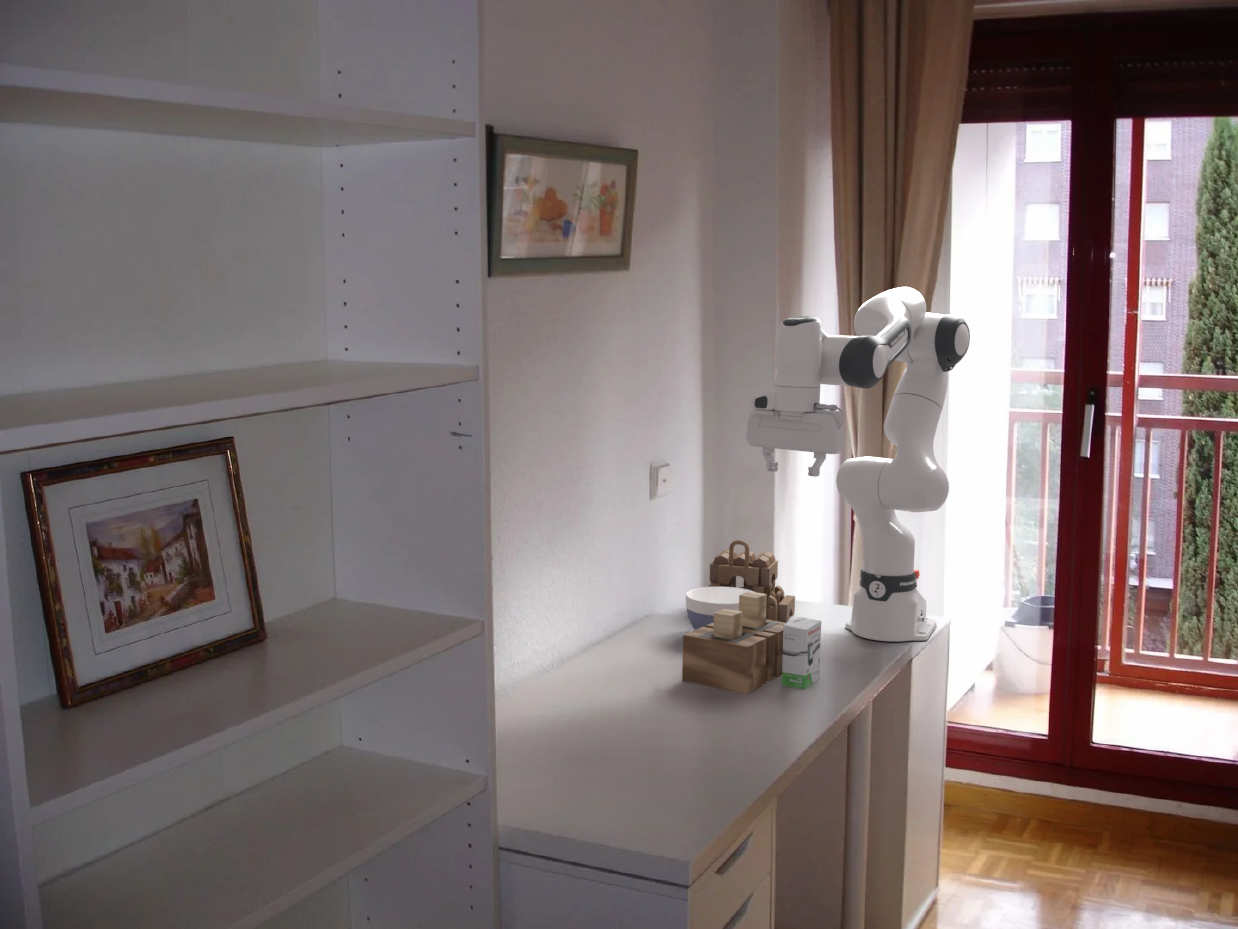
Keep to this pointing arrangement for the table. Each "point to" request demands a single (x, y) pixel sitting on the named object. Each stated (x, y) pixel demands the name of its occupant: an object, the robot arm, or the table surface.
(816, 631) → the ink box
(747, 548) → the wooden puzzle
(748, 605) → the peg
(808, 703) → the table surface
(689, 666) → the socket block
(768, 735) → the table surface
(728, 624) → the peg
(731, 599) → the bowl
